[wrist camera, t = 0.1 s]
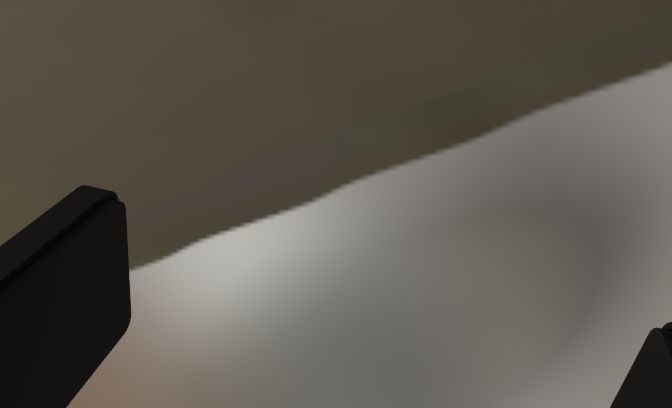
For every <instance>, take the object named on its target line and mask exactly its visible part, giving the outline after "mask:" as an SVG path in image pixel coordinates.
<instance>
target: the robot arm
mask: <svg viewBox="0 0 672 408" xmlns="http://www.w3.org/2000/svg"><path fill="white" fill-rule="evenodd" d="M130 319H131V301H130V281H129V262H128V242H127V223H126V208H125V205H124V203H123V202H121V201H119V200H118V197H117V195H116V193H114V192H113V191H108V190H104V189H100V188H96V187H91V186H87V185H82V186H80V187H78V188H77V189H75V190H74V191H73V192H71V193H70V194H69V195H68V196H66V197H65V198H64V199H62V200H61V201H60V202H58V203H57V204H56V205H54V206H53V207H52V208H50V209H49V210H48V211H46V212H45V213H44V214H42V215H41V216H40V217H38V218H37V219H36V220H35V221H33V222H32V223H31V224H29V225H28V226H27V227H25V228H24V229H23V230H21V231H20V232H19V233H17V234H16V235H15V236H13V237H12V238H11V239H9V240H8V241H7V242H5V243H4V244H3V245H2V246H0V408H66V407H67V406H68V405H69V403H70V402H71V400H72V399H73V398H74V397H75V396H76V394H77V393H78V392H79V391H80V389H81V388H82V387H83V386H84V384H85V383H86V382H87V380H88V379H89V378H90V377H91V375H92V374H93V373H94V372H95V370H96V369H97V368H98V367H99V365H100V364H101V363H102V361H103V360H104V359H105V358H106V356H107V355H108V354H109V352H110V351H111V350H112V349H113V348H114V346H115V345H116V344H117V342H118V341H119V340H120V339H121V337H122V336H123V335H124V334H125V332H126V330H127V328H128V326H129V323H130ZM610 408H672V322H670V323H667V324H665V325H664V326H663V328H662V329H661V328H654V329H652V330H651V331H650V333H649V335H648V336H647V338H646V340H645V342H644V344H643V346H642V348H641V350H640V352H639V354H638V355H637V357H636V359H635V361H634V363H633V365H632V367H631V369H630V371H629V373H628V374H627V376H626V378H625V380H624V382H623V384H622V386H621V388H620V390H619V392H618V394H617V395H616V397H615V399H614V401H613V403H612V405H611V407H610Z"/></svg>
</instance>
